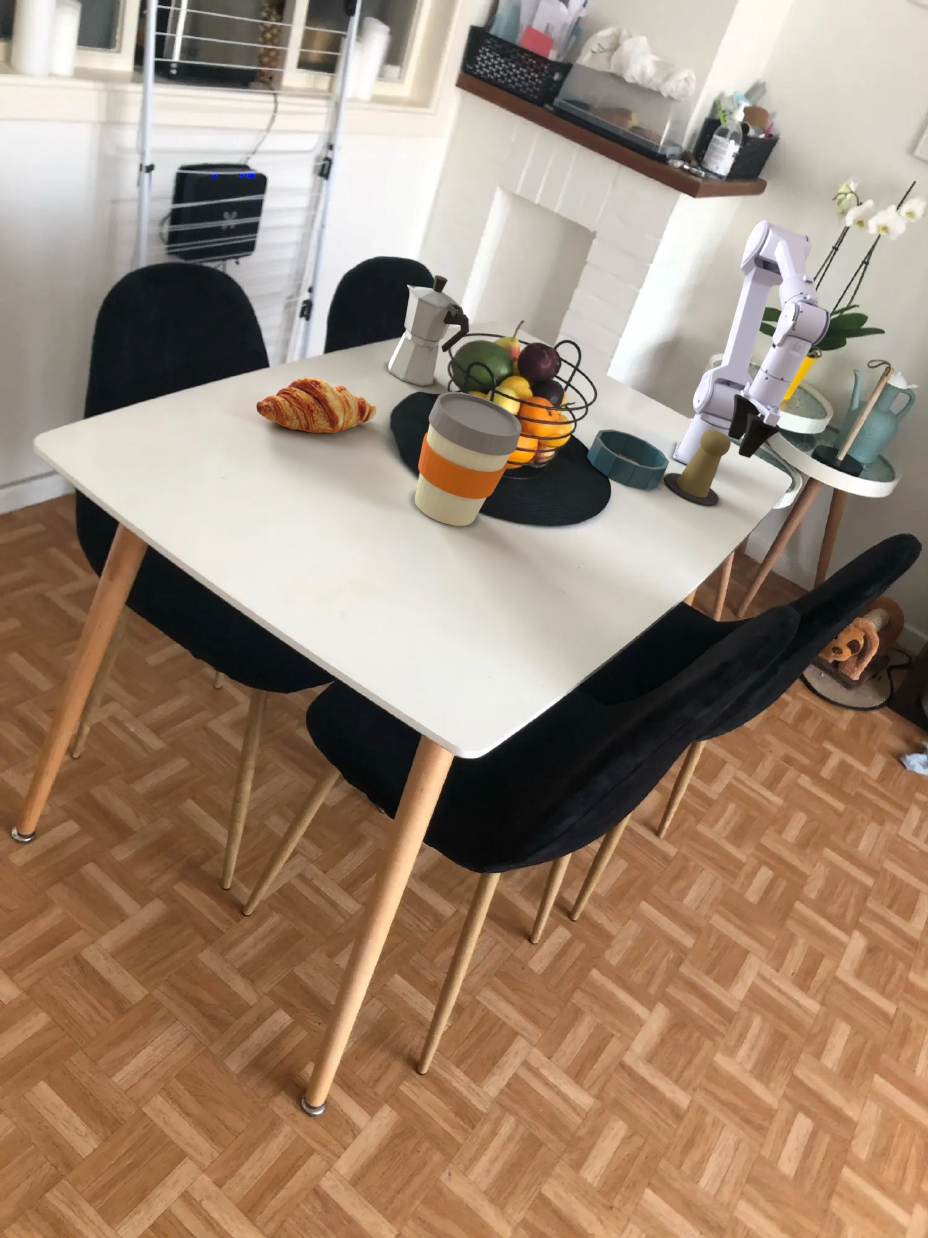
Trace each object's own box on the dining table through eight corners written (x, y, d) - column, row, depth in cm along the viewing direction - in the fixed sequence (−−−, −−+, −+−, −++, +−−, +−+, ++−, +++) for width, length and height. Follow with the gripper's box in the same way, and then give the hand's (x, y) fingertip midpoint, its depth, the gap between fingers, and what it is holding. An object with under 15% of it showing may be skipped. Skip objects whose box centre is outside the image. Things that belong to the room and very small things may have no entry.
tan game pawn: (708, 501, 177) (737, 446, 171) (676, 488, 177) (704, 433, 171) (707, 487, 182) (735, 434, 176) (676, 475, 182) (703, 421, 176)
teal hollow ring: (595, 441, 183) (603, 422, 181) (662, 471, 182) (672, 452, 180) (581, 465, 172) (590, 444, 170) (653, 497, 171) (663, 477, 169)
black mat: (667, 468, 184) (668, 466, 184) (719, 492, 184) (720, 490, 183) (660, 488, 176) (661, 486, 175) (715, 512, 175) (716, 510, 175)
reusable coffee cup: (435, 477, 149) (468, 385, 141) (502, 520, 145) (539, 428, 137) (384, 495, 140) (416, 397, 132) (455, 541, 135) (492, 444, 128)
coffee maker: (369, 359, 179) (398, 260, 170) (401, 356, 186) (430, 261, 176) (429, 399, 173) (462, 299, 164) (460, 394, 180) (494, 298, 170)
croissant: (355, 430, 161) (354, 379, 160) (396, 432, 154) (396, 379, 153) (240, 432, 147) (238, 376, 145) (280, 434, 140) (278, 375, 138)
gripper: (744, 352, 173) (708, 423, 180) (766, 382, 161) (727, 457, 168) (780, 365, 174) (744, 435, 181) (805, 395, 162) (765, 469, 169)
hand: (738, 446), depth 174 cm, fingers open, 7 cm apart
